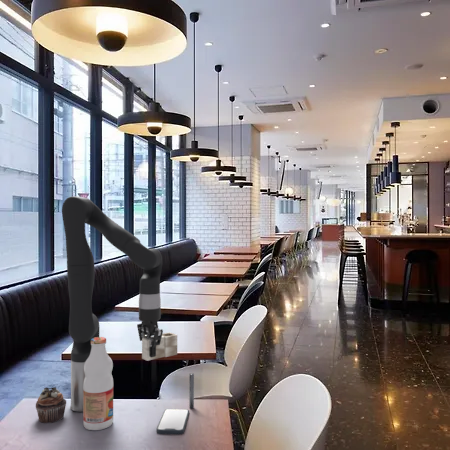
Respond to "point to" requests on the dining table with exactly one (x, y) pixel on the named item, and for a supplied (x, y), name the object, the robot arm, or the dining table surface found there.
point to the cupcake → (50, 405)
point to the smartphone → (173, 421)
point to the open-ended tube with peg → (161, 347)
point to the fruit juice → (98, 387)
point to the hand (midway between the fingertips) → (149, 355)
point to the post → (191, 390)
